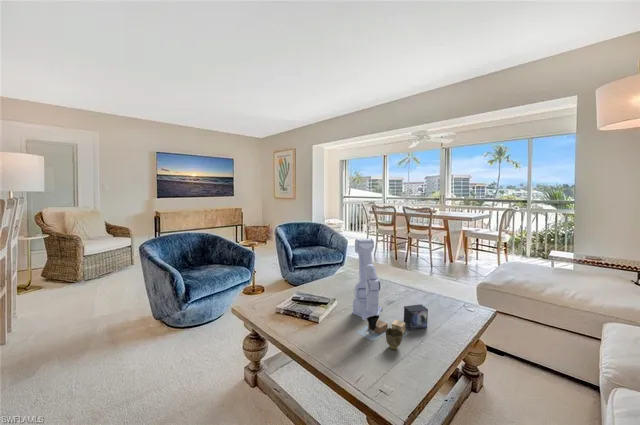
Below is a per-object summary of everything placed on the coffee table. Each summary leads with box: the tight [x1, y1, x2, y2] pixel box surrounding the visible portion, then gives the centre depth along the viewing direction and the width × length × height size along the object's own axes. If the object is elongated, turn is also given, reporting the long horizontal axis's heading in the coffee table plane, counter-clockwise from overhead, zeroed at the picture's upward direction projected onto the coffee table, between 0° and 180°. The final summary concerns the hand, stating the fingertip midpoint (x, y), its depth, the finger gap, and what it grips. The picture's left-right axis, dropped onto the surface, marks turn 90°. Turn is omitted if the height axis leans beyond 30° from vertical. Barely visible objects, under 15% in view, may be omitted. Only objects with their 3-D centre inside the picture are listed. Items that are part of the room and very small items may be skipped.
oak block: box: [391, 319, 406, 335], centre depth 138 cm, size 5×5×5 cm
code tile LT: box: [355, 325, 386, 342], centre depth 138 cm, size 11×11×1 cm
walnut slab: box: [367, 319, 389, 334], centre depth 142 cm, size 7×7×3 cm
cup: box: [384, 327, 403, 351], centre depth 125 cm, size 8×7×8 cm
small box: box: [403, 303, 429, 331], centre depth 144 cm, size 11×6×10 cm, turn 104°
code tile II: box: [402, 330, 410, 339], centre depth 138 cm, size 8×8×1 cm
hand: (372, 328), depth 139 cm, fingers closed
